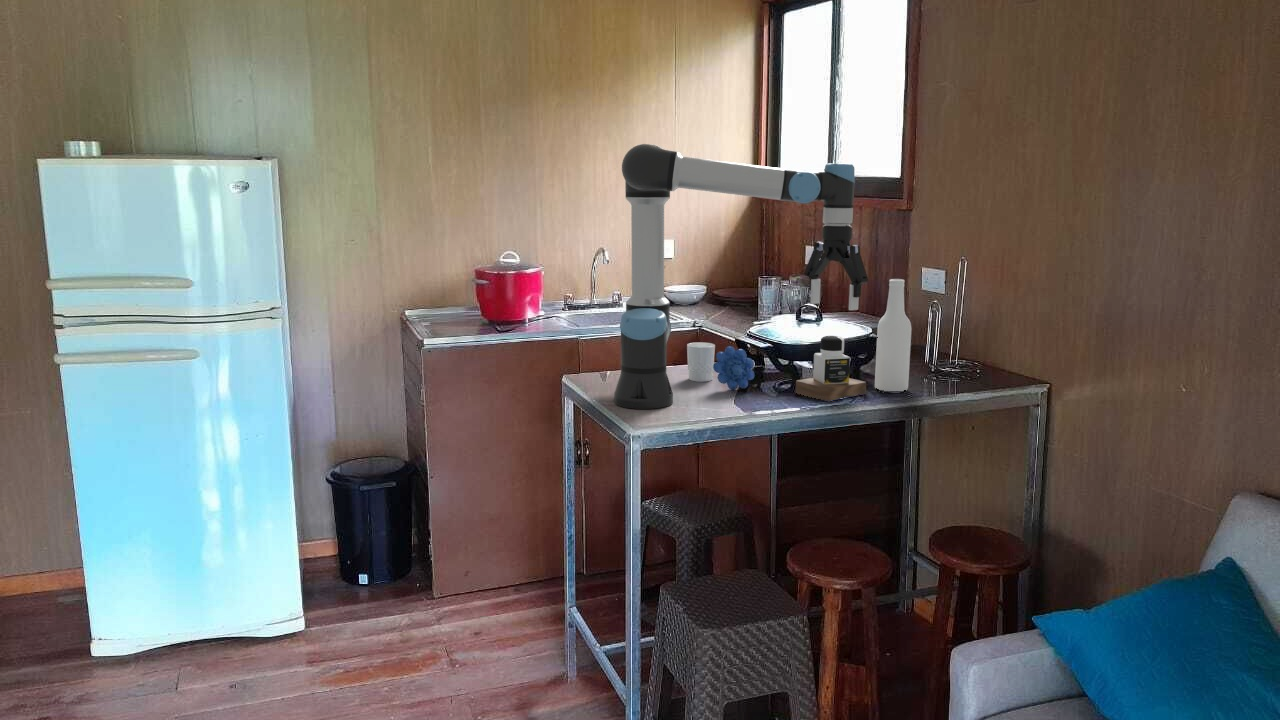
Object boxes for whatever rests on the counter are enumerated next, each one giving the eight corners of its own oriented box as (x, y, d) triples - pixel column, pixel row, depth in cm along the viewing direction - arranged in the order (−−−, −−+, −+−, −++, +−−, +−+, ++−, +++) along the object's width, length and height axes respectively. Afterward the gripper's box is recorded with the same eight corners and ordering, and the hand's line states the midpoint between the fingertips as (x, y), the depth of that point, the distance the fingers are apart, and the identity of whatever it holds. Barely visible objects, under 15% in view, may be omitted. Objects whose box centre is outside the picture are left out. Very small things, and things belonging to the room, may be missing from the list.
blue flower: (717, 394, 253) (718, 349, 250) (710, 388, 259) (711, 345, 257) (759, 392, 255) (760, 348, 253) (751, 386, 261) (752, 343, 259)
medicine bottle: (824, 384, 248) (826, 339, 245) (812, 379, 255) (814, 335, 252) (849, 383, 250) (851, 338, 247) (837, 377, 256) (839, 333, 254)
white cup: (715, 382, 267) (715, 347, 265) (687, 382, 267) (687, 347, 265) (713, 376, 274) (714, 342, 272) (686, 376, 274) (686, 342, 272)
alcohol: (909, 394, 253) (916, 281, 247) (875, 393, 254) (881, 281, 248) (906, 387, 261) (912, 278, 255) (873, 385, 262) (878, 277, 256)
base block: (828, 402, 244) (828, 388, 243) (795, 393, 254) (795, 380, 253) (865, 394, 252) (866, 382, 251) (832, 386, 262) (832, 374, 261)
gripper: (885, 226, 236) (880, 311, 240) (813, 221, 256) (809, 300, 260) (864, 227, 232) (860, 313, 236) (792, 222, 252) (789, 302, 256)
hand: (833, 306), depth 248 cm, fingers open, 13 cm apart
